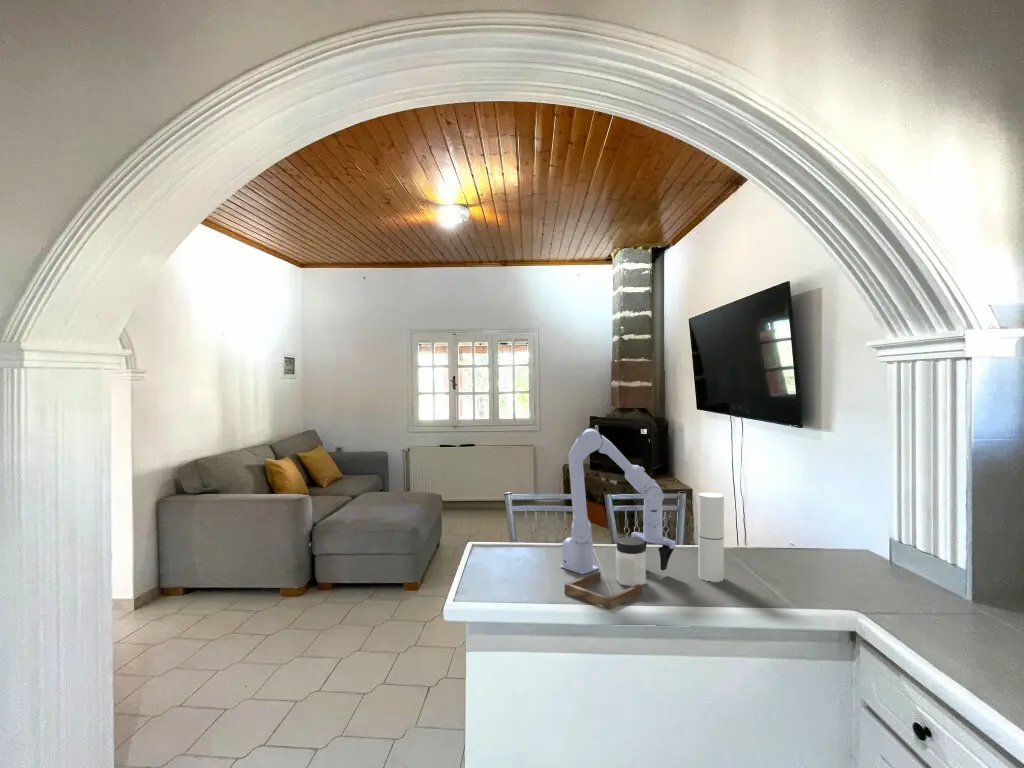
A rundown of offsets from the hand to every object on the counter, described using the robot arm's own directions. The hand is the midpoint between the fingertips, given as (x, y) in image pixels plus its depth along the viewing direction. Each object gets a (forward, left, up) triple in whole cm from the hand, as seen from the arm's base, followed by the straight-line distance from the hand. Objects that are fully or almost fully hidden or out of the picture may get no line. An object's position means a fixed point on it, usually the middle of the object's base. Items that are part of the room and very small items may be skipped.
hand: (652, 566), depth 171 cm
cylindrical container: (+15, +8, -2) cm, 17 cm away
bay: (0, -25, -2) cm, 25 cm away
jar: (0, -12, -2) cm, 12 cm away
